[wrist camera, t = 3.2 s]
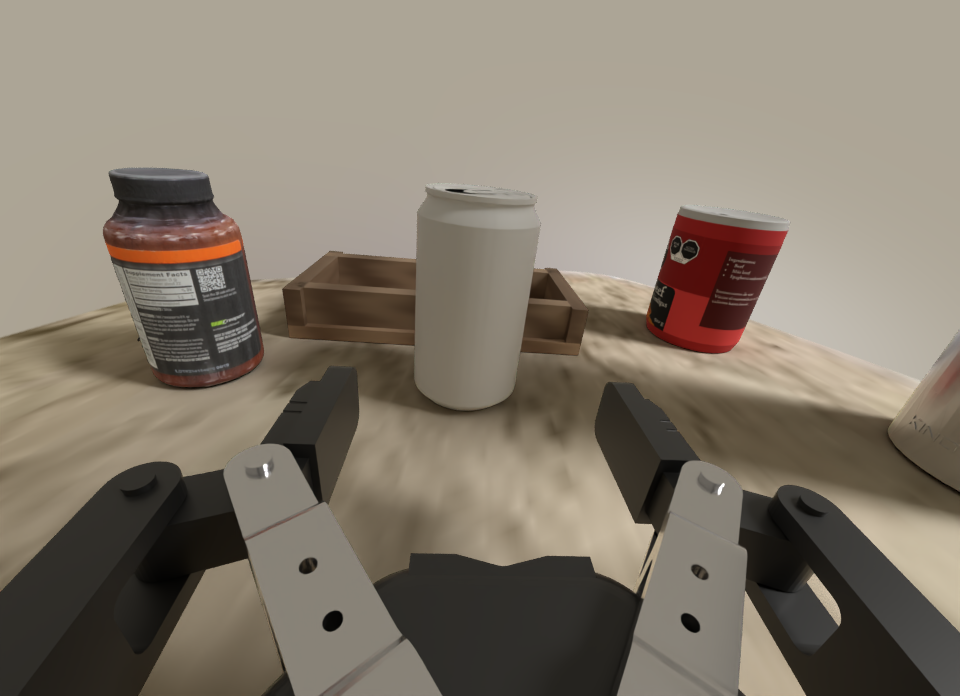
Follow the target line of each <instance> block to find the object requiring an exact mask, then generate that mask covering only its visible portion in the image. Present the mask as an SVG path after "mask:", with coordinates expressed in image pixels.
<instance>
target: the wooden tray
mask: <svg viewBox="0 0 960 696" xmlns="http://www.w3.org/2000/svg"><path fill="white" fill-rule="evenodd" d="M282 290H283V297H284V303H285V310H286V317H287V323H288V330H289V337H290V338H306V339H322V340H338V341H355V342H371V343H387V344H404V345H415V305H416V259H406V258H394V257H381V256H368V255H355V254H343V252H337V251H329V252H328V253H327V254H326V255H324V256H323V257H322V258H320V259H319V260H318V261H317V262H315V263H314V264H313V265H312V266H310V267H309V268H308V269H307V270H305V271H304V272H303V273H302V274H300V275H299V276H298V277H296V278H295V279H294V280H293V281H291V282H290V283H289V284H288V285H286V286H285V287H284V288H283V289H282ZM588 311H589V310H588V309H587V307H586V306H585V305H584V304H583V302H582V301H581V300H580V298H579V297H578V296H577V294H576V293H575V292H574V291H573V289H572V288H571V287H570V285H569V284H568V283H567V281H566V280H565V279H564V278H563V276H562V275H561V274H560V272H559V271H558V270H557V269H553V268H545V269H533V276H532V282H531V288H530V294H529V301H528V307H527V313H526V319H525V325H524V332H523V338H522V344H521V350H520V352H534V353H550V354H567V355H578V354H579V350H580V346H581V341H582V337H583V333H584V329H585V324H586V320H587V316H588Z"/></svg>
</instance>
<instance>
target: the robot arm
mask: <svg viewBox="0 0 960 696" xmlns="http://www.w3.org/2000/svg"><path fill="white" fill-rule="evenodd" d="M358 419H359V397H358V382H357V371H356V368H355V367H343V366H329V368H328V369H327V371H326V372H325V374H324V376H323V377H322V379H321V381H310V382H308V383H307V384H305V385H304V386H302V387H301V388H299V389H298V390H297V391H296V392H295V394H294V395H293V397H292V398H291V400H290V402H289V403H288V404H287V406H286V407H285V409H284V410H283V413H281V415H280V416H279V417H278V419H277V420H276V422H275V423H274V425H273V426H272V428H271V429H270V431H269V432H268V434H267V435H266V437H265V438H264V440H263V441H262V443H261V444H260V445H257V446H253V447H250V448H248V449H246V450H244V451H242V452H240V453H238V454H237V455H235V456H234V457H233V458H232V459H231V460H230V461H229V462H228V463H227V465H226V467H225V469H222V470H218V471H213V472H208V473H203V474H197V475H192V476H187V477H183V476H182V473H181V470H180V468H179V467H178V466H177V465H175V464H173V463H170V462H151V463H146V464H142V465H139V466H136V467H133V468H130V469H128V470H126V471H124V472H122V473H120V474H118V475H117V476H115V477H113V478H112V479H111V480H109V481H108V482H107V483H106V484H105V485H104V486H103V487H102V488H101V489H100V490H99V491H98V492H97V493H96V494H95V495H94V496H93V497H92V498H91V499H90V500H89V501H88V502H87V503H86V504H85V505H84V506H83V507H82V508H81V509H80V510H79V511H78V512H77V513H76V514H75V515H74V517H73V518H72V519H71V520H70V521H69V522H68V523H67V524H66V525H65V526H64V527H63V528H62V529H61V530H60V531H59V532H58V533H57V534H56V535H55V536H54V537H53V538H52V539H51V540H50V541H49V542H48V543H47V544H46V545H45V546H44V547H43V549H42V550H41V551H40V552H39V553H38V554H37V555H36V556H35V557H34V558H33V559H32V560H31V561H30V562H29V563H28V564H27V565H26V566H25V567H24V568H23V569H22V570H21V571H20V572H19V573H18V574H17V575H16V576H15V577H14V578H13V580H12V581H11V582H10V583H9V584H8V585H7V586H6V587H5V588H4V589H3V590H2V591H1V592H0V696H138V695H139V693H140V691H141V689H142V687H143V686H144V684H145V682H146V680H147V678H148V676H149V674H150V673H151V671H152V669H153V667H154V665H155V663H156V661H157V660H158V658H159V656H160V654H161V652H162V650H163V648H164V647H165V645H166V643H167V641H168V639H169V637H170V635H171V634H172V632H173V630H174V628H175V626H176V624H177V622H178V620H179V619H180V617H181V615H182V613H183V611H184V609H185V607H186V606H187V604H188V602H189V600H190V598H191V596H192V594H193V593H194V591H195V589H196V587H197V585H198V583H199V581H200V580H201V578H202V576H203V574H204V572H205V570H206V569H210V568H214V567H218V566H221V565H225V564H229V563H233V562H236V561H240V560H244V559H248V561H249V565H250V568H251V571H252V574H253V577H254V580H255V584H256V587H257V590H258V593H259V596H260V599H261V603H262V606H263V609H264V612H265V615H266V618H267V622H268V625H269V628H270V631H271V635H272V638H273V641H274V645H275V648H276V651H277V655H278V658H279V661H280V664H281V667H282V671H283V674H282V675H281V676H280V677H279V678H278V679H277V680H276V681H275V682H274V683H273V684H272V685H271V686H270V687H269V688H268V689H267V690H266V692H265V693H264V694H263V695H262V696H746V695H744V694H743V693H742V692H741V691H740V690H739V689H738V685H739V670H740V655H741V641H742V626H743V611H744V597H745V591H746V592H747V594H748V596H749V598H750V599H751V601H752V603H753V605H754V606H755V608H756V610H757V611H758V613H759V615H760V617H761V618H762V620H763V622H764V623H765V625H766V627H767V629H768V630H769V632H770V634H771V635H772V637H773V639H774V641H775V642H776V644H777V646H778V648H779V649H780V651H781V653H782V654H783V656H784V658H785V660H786V661H787V663H788V665H789V666H790V668H791V670H792V672H793V673H794V675H795V677H796V678H797V680H798V682H799V684H800V685H801V687H802V689H803V691H804V692H805V694H806V696H960V632H959V631H958V630H957V629H956V628H955V627H954V626H953V625H952V624H951V623H950V622H949V621H948V620H947V619H946V618H945V617H944V616H943V615H942V614H941V613H940V612H939V611H938V610H937V609H936V608H935V607H934V606H933V605H932V604H931V603H930V602H929V601H928V600H927V599H926V598H925V596H924V595H923V594H922V593H921V592H920V591H919V590H918V589H917V588H916V587H915V586H914V585H913V584H912V583H911V582H910V581H909V580H908V579H907V578H906V577H905V576H904V575H903V574H902V573H901V572H900V571H899V570H898V569H897V568H896V567H895V566H894V565H893V564H892V563H891V562H890V561H889V559H888V558H887V557H886V556H885V555H884V554H883V553H882V552H881V551H880V550H879V549H878V548H877V547H876V546H875V545H874V544H873V543H872V542H871V541H870V540H869V539H868V538H867V537H866V536H865V535H864V534H863V533H862V532H861V531H860V530H859V529H858V528H857V527H856V526H855V525H854V524H853V523H852V521H851V520H850V519H849V518H848V517H847V516H846V515H845V514H844V513H843V512H842V511H841V510H840V509H839V508H838V507H837V506H835V505H834V504H833V503H832V502H830V501H829V500H827V499H826V498H824V497H823V496H821V495H819V494H817V493H815V492H813V491H811V490H809V489H806V488H803V487H799V486H794V485H784V486H782V487H780V488H779V489H778V491H777V492H776V494H775V496H774V497H773V498H771V497H767V496H763V495H760V494H756V493H752V492H749V491H745V490H742V488H741V486H740V484H739V483H738V482H737V480H736V479H735V478H734V477H733V476H732V475H730V474H729V473H728V472H726V471H725V470H723V469H721V468H720V467H718V466H716V465H713V464H711V463H707V462H703V461H701V460H700V459H699V458H698V456H697V455H696V454H695V452H694V451H693V450H692V449H691V447H690V446H689V445H688V443H687V442H686V441H685V439H684V438H683V437H682V435H681V434H680V433H679V432H677V429H676V427H675V426H674V425H673V423H672V422H670V420H669V418H668V417H667V416H666V414H665V413H664V412H663V410H662V409H661V408H659V407H658V406H657V405H655V404H654V403H653V402H651V401H650V400H649V399H644V398H643V396H642V395H641V394H640V392H639V391H638V389H637V388H636V387H635V385H634V384H632V383H620V382H608V383H607V384H606V386H605V388H604V392H603V395H602V399H601V402H600V406H599V409H598V413H597V416H596V420H595V435H596V439H597V441H598V443H599V446H600V448H601V450H602V452H603V454H604V457H605V459H606V461H607V463H608V465H609V467H610V470H611V472H612V474H613V476H614V478H615V480H616V483H617V485H618V487H619V489H620V491H621V494H622V496H623V498H624V500H625V502H626V504H627V507H628V509H629V511H630V513H631V515H632V518H633V520H634V522H635V523H638V524H652V525H653V527H654V529H655V530H654V532H653V534H652V537H651V539H650V542H649V545H648V548H647V551H646V554H645V557H644V560H643V563H642V566H641V569H640V572H639V575H638V578H637V580H636V583H635V586H634V589H633V591H632V590H630V589H629V588H627V587H625V586H624V585H622V584H621V583H619V582H617V581H615V580H613V579H611V578H609V577H606V576H604V575H601V574H598V573H595V571H594V568H593V565H592V562H591V559H590V557H576V556H545V557H541V558H537V559H533V560H529V561H525V562H521V563H517V564H513V565H509V566H498V565H494V564H490V563H487V562H483V561H479V560H476V559H472V558H468V557H465V556H461V555H457V554H418V553H411V556H410V564H409V569H405V570H401V571H398V572H396V573H393V574H390V575H388V576H386V577H384V578H382V579H380V580H379V581H377V582H375V583H374V584H372V582H371V581H370V579H369V577H368V575H367V574H366V572H365V570H364V568H363V566H362V565H361V563H360V561H359V559H358V557H357V556H356V554H355V552H354V550H353V549H352V547H351V545H350V543H349V541H348V540H347V538H346V536H345V534H344V533H343V531H342V529H341V527H340V525H339V524H338V522H337V520H336V518H335V517H334V515H333V513H332V511H331V509H330V508H329V506H328V504H329V501H330V498H331V495H332V493H333V490H334V487H335V485H336V482H337V479H338V477H339V474H340V471H341V469H342V466H343V463H344V461H345V458H346V455H347V453H348V450H349V447H350V445H351V442H352V439H353V436H354V434H355V431H356V428H357V425H358ZM888 434H889V437H890V439H891V440H892V442H893V443H894V445H895V446H896V447H897V448H898V449H899V450H900V451H901V452H902V453H903V454H904V455H905V456H906V457H907V458H909V459H910V460H911V461H913V462H914V463H915V464H917V465H918V466H919V467H920V468H922V469H923V470H925V471H926V472H928V473H929V474H931V475H933V476H934V477H936V478H937V479H939V480H940V481H942V482H943V483H945V484H947V485H949V486H951V487H952V488H954V489H956V490H958V491H959V492H960V329H959V330H958V332H957V333H956V335H955V336H954V338H953V339H952V340H951V342H950V343H949V344H948V346H947V347H946V349H945V350H944V351H943V353H942V354H941V355H940V357H939V358H938V360H937V361H936V362H935V364H934V365H933V367H932V368H931V369H930V371H929V372H928V374H927V375H926V376H925V377H924V378H923V380H922V381H921V383H920V384H919V385H918V387H917V388H916V390H915V391H914V392H913V394H912V395H911V397H910V398H909V399H908V401H907V402H906V404H905V405H904V406H903V408H902V409H901V410H900V412H899V413H898V415H897V416H896V417H895V419H894V420H893V422H892V423H891V424H890V426H889V428H888ZM814 573H815V574H816V576H817V577H818V578H819V580H820V581H821V582H822V584H823V585H824V586H825V587H826V589H827V590H828V591H829V593H830V594H831V595H832V597H833V598H834V599H835V601H836V603H837V604H838V607H839V609H840V613H841V624H840V626H838V625H837V623H836V622H835V621H834V619H833V618H832V617H831V615H830V614H829V613H828V611H827V610H826V608H825V607H824V606H823V604H822V603H821V602H820V600H819V599H818V598H817V596H816V595H815V593H814V592H813V591H812V589H811V588H810V587H809V585H808V584H807V581H808V580H809V579H810V577H811V576H812V575H813V574H814Z"/></svg>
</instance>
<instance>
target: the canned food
mask: <svg viewBox="0 0 960 696" xmlns="http://www.w3.org/2000/svg"><path fill="white" fill-rule="evenodd" d="M789 225H790V221H788V220H786V219H783V218H779V217H775V216H770V215H765V214H759V213H753V212H747V211H741V210H734V209H726V208H718V207H709V206H698V205H684V206H681V207H680V210H679V212H678V214H677V218H676V221H675V224H674V226H673V230H672V233H671V236H670V239H669V243H668V246H667V249H666V253H665V256H664V259H663V262H662V266H661V269H660V272H659V276H658V279H657V282H656V285H655V289H654V292H653V295H652V299H651V302H650V305H649V308H648V312H647V315H646V322H647V328H648V329H649V330H650V331H651V332H652V333H653V334H654V335H655V336H657V337H658V338H660V339H662V340H664V341H666V342H668V343H671V344H673V345H676V346H679V347H682V348H685V349H689V350H693V351H698V352H704V353H724V352H727V351H730V350H731V349H732V348H733V347H734V346H735V345H736V344H737V343H738V342H739V340H740V338H741V335H742V333H743V331H744V329H745V327H746V324H747V322H748V320H749V318H750V315H751V313H752V311H753V309H754V307H755V304H756V302H757V300H758V298H759V295H760V293H761V291H762V289H763V286H764V284H765V282H766V280H767V278H768V275H769V273H770V271H771V268H772V266H773V264H774V262H775V260H776V257H777V255H778V253H779V251H780V249H781V246H782V244H783V241H784V239H785V237H786V234H787V232H788V229H789Z"/></svg>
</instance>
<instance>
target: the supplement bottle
mask: <svg viewBox="0 0 960 696" xmlns="http://www.w3.org/2000/svg"><path fill="white" fill-rule="evenodd" d="M109 177H110V181H111V183H112V186H113V190H114V196H115V197H116V198H117V199H118V200H119V204H118V206H117V208H116V210H115V212H114V214H113V216H112V217H111V218H110V219H109V220H108V221H107V222H106V223H105V225H104V227H103V236H104V239H105V243H106V245H107V248H108V251H109V254H110V255H111V260H112V263H113V266H114V269H115V272H116V275H117V277H118V280H119V282H120V285H121V288H122V292H123V294H124V296H125V300H126V302H127V305H128V307H129V310H130V312H131V316H132V318H133V321H134V324H135V327H136V330H137V332H138V334H139V338H138V341H140V340H141V343H142V347H143V348H144V351H145V353H146V356H147V360H148V363H149V364H150V366H151V369H152V371H153V374H154V375H155V376H156V377H157V378H158V379H159V380H160V381H162V382H164V383H166V384H169V385H173V386H180V387H208V386H213V385H216V384H220V383H223V382H227V381H230V380H234V379H236V378H238V377H240V376H242V375H245V374H246V373H248V372H250V371H251V370H253V369H254V368H255V367H256V366H257V365H258V364H259V363H260V362H261V360H262V358H263V355H264V348H263V343H262V336H261V331H260V326H259V321H258V315H257V311H256V306H255V301H254V296H253V291H252V286H251V280H250V275H249V271H248V266H247V260H246V255H245V250H244V246H243V241H242V236H241V233H240V230H239V227H238V225H237V224H236V222H235V221H234V220H233V219H232V218H230V217H228V216H227V215H224V214H222V213H221V211H220V210H219V209H218V208H217V207H216V205H215V204H214V202H213V197H214V195H213V194H212V190H211V186H210V181H209V177H208V175H207V174H205V173H203V172H199V171H193V170H181V169H167V168H124V169H116V170H111V171H109Z"/></svg>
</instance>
